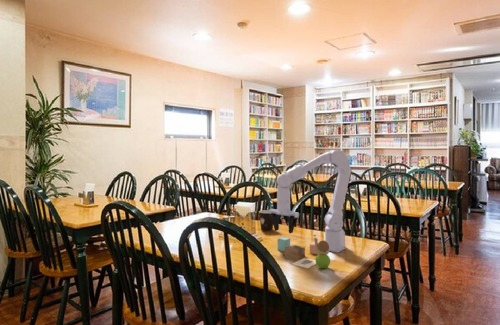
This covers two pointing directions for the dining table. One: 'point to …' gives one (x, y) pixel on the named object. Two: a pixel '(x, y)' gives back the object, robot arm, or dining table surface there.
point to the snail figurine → (322, 253)
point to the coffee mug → (265, 220)
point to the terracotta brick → (313, 248)
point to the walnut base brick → (294, 252)
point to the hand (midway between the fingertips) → (283, 231)
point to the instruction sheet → (305, 263)
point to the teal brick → (283, 243)
